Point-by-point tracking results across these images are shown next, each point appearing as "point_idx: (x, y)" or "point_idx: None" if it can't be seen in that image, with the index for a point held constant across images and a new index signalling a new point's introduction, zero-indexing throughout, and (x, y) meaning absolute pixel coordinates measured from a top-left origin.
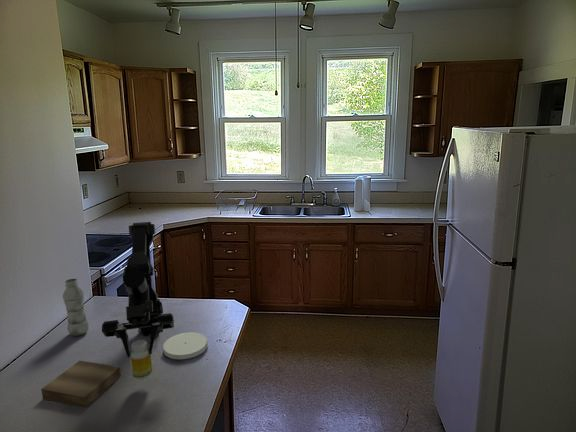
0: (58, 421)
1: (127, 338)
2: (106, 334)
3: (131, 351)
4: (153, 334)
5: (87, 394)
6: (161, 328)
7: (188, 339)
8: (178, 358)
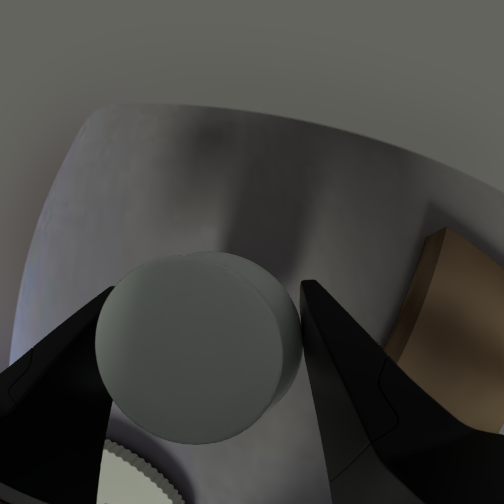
0: (466, 193)
1: (348, 478)
2: None
3: (285, 341)
4: (2, 390)
5: (444, 242)
6: None
7: None
8: (120, 447)
